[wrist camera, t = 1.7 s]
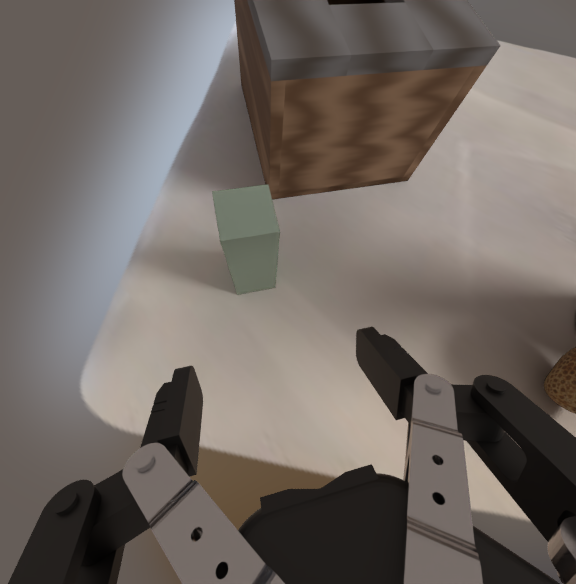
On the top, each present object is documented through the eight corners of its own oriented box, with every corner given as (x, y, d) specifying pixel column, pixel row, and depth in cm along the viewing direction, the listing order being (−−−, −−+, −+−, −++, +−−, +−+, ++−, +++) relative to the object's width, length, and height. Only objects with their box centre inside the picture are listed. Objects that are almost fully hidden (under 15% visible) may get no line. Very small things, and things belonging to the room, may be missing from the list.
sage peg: (267, 254, 32) (268, 184, 21) (275, 287, 31) (279, 231, 20) (231, 260, 32) (212, 191, 21) (237, 294, 30) (220, 241, 19)
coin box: (360, 75, 45) (408, -82, 30) (407, 180, 38) (500, 45, 23) (241, 84, 42) (227, -85, 27) (269, 199, 35) (271, 59, 20)
